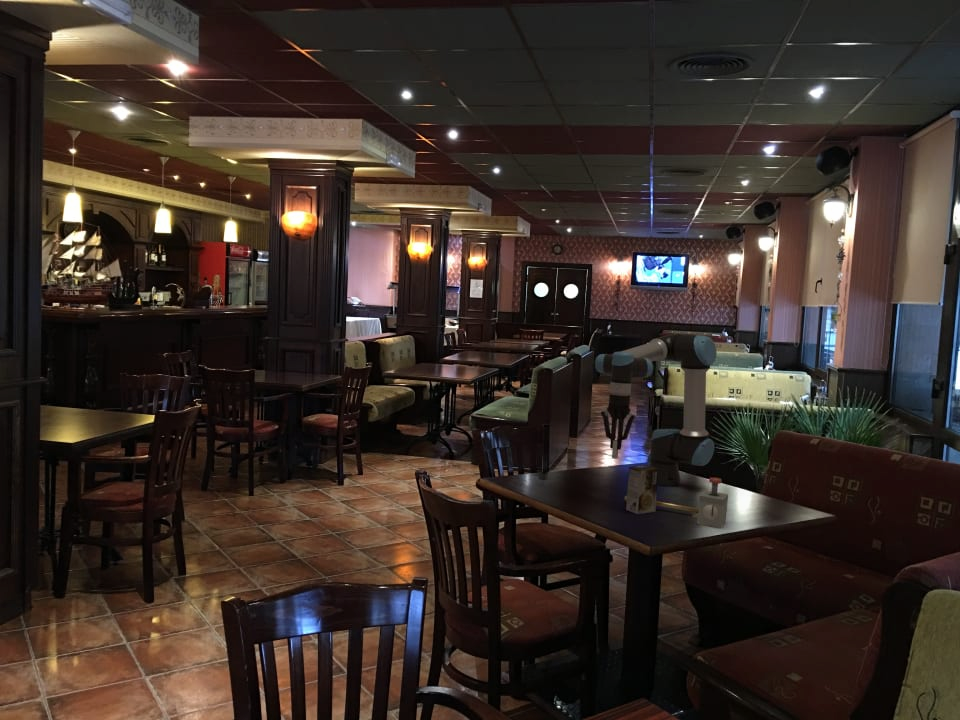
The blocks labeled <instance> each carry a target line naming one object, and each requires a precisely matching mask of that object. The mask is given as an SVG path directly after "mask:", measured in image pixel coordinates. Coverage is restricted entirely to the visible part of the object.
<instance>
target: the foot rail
mask: <svg viewBox="0 0 960 720" xmlns="http://www.w3.org/2000/svg"><path fill="white" fill-rule="evenodd" d="M624 501H626V502H627V495H625V496H624ZM656 507H662V508H669V509H674V510H681V511H684V512H690V513H691V512H692V513H694V514H693V515H692V518H693V517H694V518H698V510H699V507H698V508H697V507H692V506H687V505H680V504H675V503H670V502H662V501H657V500H656Z"/></svg>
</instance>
